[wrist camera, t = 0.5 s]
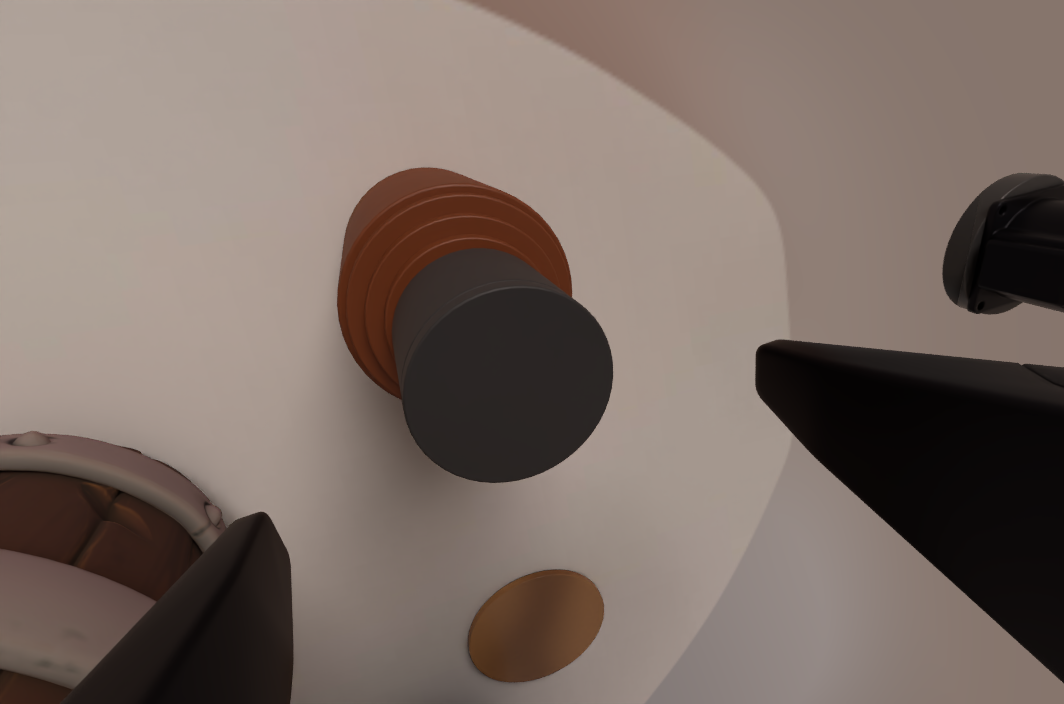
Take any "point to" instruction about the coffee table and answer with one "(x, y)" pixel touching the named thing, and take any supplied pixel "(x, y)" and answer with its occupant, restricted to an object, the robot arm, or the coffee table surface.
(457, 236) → the bottle
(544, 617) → the coaster
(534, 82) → the coffee table surface
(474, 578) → the coffee table surface
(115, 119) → the coffee table surface
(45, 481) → the flowerpot
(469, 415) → the cap
